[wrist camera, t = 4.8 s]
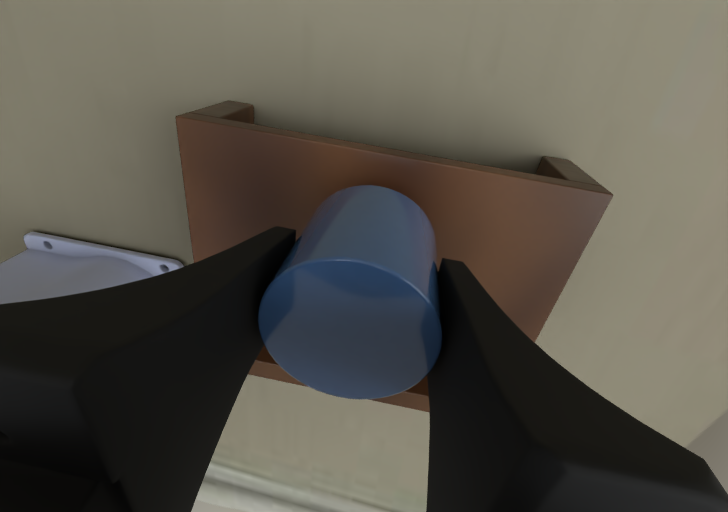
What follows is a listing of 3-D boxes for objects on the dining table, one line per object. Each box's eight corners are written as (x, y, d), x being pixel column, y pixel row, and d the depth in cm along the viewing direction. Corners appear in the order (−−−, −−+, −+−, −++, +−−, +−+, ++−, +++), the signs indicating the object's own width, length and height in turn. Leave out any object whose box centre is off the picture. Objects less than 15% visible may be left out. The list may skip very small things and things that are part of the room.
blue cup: (304, 285, 14) (257, 381, 10) (311, 172, 11) (254, 239, 7) (419, 308, 13) (419, 415, 10) (451, 198, 11) (467, 281, 7)
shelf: (237, 283, 21) (178, 360, 16) (227, 99, 16) (135, 127, 11) (493, 334, 20) (517, 431, 15) (571, 160, 15) (647, 220, 10)
